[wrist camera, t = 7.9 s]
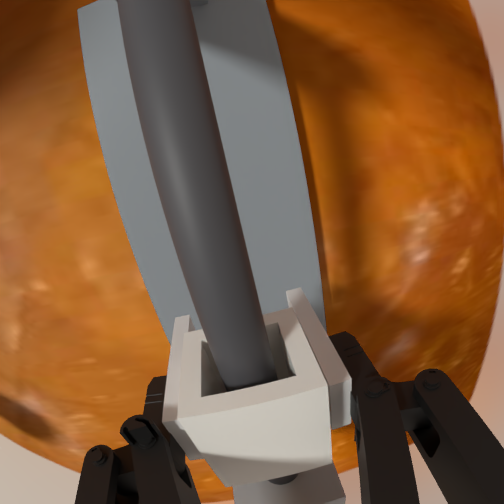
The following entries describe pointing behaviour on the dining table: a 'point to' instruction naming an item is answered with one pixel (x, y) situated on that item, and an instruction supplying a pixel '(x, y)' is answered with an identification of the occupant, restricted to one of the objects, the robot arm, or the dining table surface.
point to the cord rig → (209, 182)
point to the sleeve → (257, 409)
